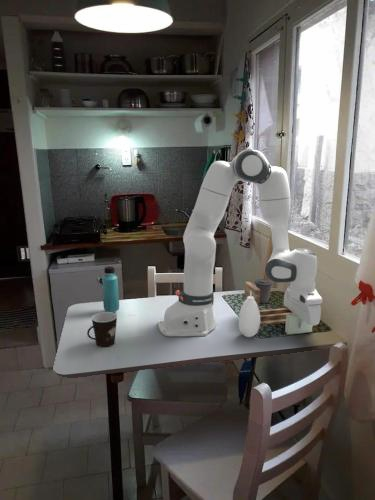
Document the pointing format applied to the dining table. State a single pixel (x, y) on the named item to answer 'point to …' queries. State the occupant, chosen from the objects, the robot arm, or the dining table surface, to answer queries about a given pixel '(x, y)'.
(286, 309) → the track frame
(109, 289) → the beverage bottle
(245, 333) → the sauce bottle
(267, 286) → the coffee cup
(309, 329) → the door panel
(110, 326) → the coffee mug
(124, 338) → the dining table surface
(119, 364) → the dining table surface
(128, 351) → the dining table surface
